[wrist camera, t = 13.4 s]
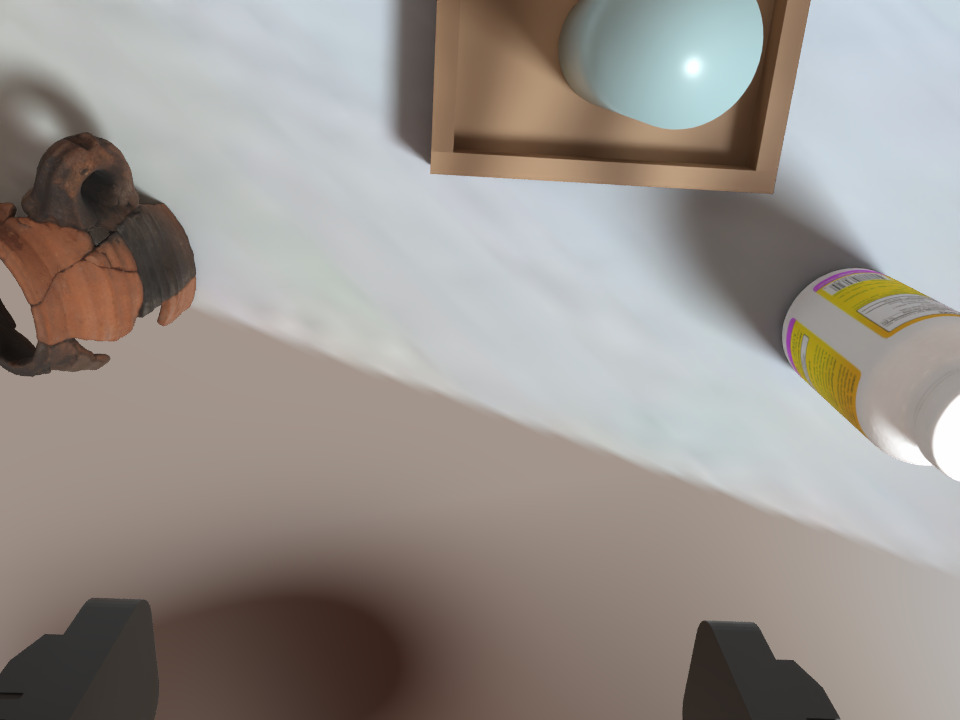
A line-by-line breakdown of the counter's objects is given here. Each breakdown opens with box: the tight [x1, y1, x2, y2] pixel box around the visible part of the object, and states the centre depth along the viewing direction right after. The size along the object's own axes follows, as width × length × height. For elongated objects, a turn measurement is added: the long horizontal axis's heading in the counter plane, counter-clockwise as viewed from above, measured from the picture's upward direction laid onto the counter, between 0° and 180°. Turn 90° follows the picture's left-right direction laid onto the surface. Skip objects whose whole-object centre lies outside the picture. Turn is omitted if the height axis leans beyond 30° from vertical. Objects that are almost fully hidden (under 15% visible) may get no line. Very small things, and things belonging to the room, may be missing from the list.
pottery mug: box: [0, 133, 196, 377], centre depth 37 cm, size 12×10×8 cm
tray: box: [430, 0, 811, 194], centre depth 35 cm, size 16×12×2 cm
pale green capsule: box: [558, 0, 763, 130], centre depth 31 cm, size 5×5×11 cm
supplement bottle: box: [782, 268, 960, 481], centre depth 36 cm, size 7×7×13 cm
